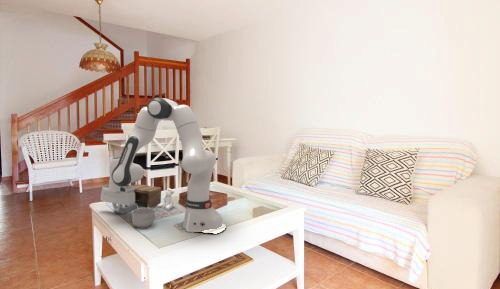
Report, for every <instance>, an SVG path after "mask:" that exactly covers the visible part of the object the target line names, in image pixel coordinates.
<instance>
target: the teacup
mask: <svg viewBox="0 0 500 289" xmlns="http://www.w3.org/2000/svg"><path fill="white" fill-rule="evenodd" d="M130 212H131V223H132V225H134V226H135V227H136V228H138V229H143V228H148V227H150V226H151V225H152V224H153V223H154V221H155V212H156V209H154V207H152V208H150V207H147V206H146V207H139V208H138V207H137V209H135V210H133V211H130Z"/></svg>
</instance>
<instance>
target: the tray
mask: <svg viewBox="0 0 500 289" xmlns="http://www.w3.org/2000/svg"><path fill="white" fill-rule="evenodd" d="M117 207H118V205H117ZM135 209H138V203H136V202H135V203H134V204H133V205H131V206H128V205H122V207H121V209H120V211H119V212H117V211H114V210H113V213H114V212H115V213H114V214H119V215H125V214H127V213H130V212H132V211H133V210H135Z"/></svg>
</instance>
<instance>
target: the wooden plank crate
mask: <svg viewBox="0 0 500 289" xmlns="http://www.w3.org/2000/svg"><path fill="white" fill-rule="evenodd" d="M131 185H132V186H134V187H135V190H133V191H134V193H135V202H137V201H136V200H139V201H138V202H142V201H143V202H142V203H147V204H146V205H147V206H146V208H147V207H150V208H155V207H157V205H158V204H160V203H162V201H161V200H162V187H160V186H153V185H146V184H139V183H136V184H134V185H133V184H131Z"/></svg>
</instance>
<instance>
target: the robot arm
mask: <svg viewBox="0 0 500 289" xmlns="http://www.w3.org/2000/svg"><path fill="white" fill-rule="evenodd" d="M161 121H173V123H174V127H175V129H176V132H177V134H178V138H179V140H180V143H181V148H182V160H181V166H182V169H183V171H184V172H185V173H187V174H191V175H190V179H189V180H188V182H187V191H186V192H187V193H186V199H185V214H184V219H183V222H182V228H183V229H184V230H185V232H188V233H194V232H202V231H204V230H209V229H217V228H219V227H221V226H222V223H223V216H222V214H221V213H219V212H218V210H216V209H215V208H214V207H213V206H212V205H213V203H214V201H213V200H212V201H211V200H210V189H211V188H210V186H211V181H212V176H213V172H214V168H215V165H216V163H217V157H216V155H215V153H214V152H212V151H211V150H208V149H204V148H203V134H202V131H201V128H200V126H199V123H198V120H197V118H196V115H195V113H194V112H193V110H192V109H191V107H190V106H189V105H187V104H180V103H178V102H177V101H175V100H171V99H169V98H165V97H164V98H163V97H154V98H152V99H150V100H149V101H148V103H147V105H146V106H144V107H142V108H141V109H140V110H139V113H138V115H137V117H136V119H135V122H134V126H133V128H132V130H131V133H130V136H129V137H128V139H127V141H126V142H125V145H124V147H123V149H122V152H121V155H120V156H119V157H114V158H112V159H111V160H110V164H109V173H108V174H109V181H108V184H103V185H102V186H101V191H100V192H101V193H100V197H99V198H100V200H101V202H105V203H111V206H112V207H113V212H114V211H117V212H119V211H120V209H121V207H122V205H128V206H131V205H133V204H134V203H136V201H135V193H134V191H133V190H135V187H134V186H132V185H133V183H136V182H139V181H141V180H142V179H143V178H144V175H145V171H144V168H143V167H142V166H141V165H140V164H137V163H134V162H133V161H134V159H135V157H136V155H137V153H138V152H139V151H140V150H141V149H142V148H143V147H145V146H147V145H148V144H150V143H152V142H153V139H154V138H155V136H156V132H157V128H158V125H159V123H160V122H161ZM117 206H118V207H117Z"/></svg>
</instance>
